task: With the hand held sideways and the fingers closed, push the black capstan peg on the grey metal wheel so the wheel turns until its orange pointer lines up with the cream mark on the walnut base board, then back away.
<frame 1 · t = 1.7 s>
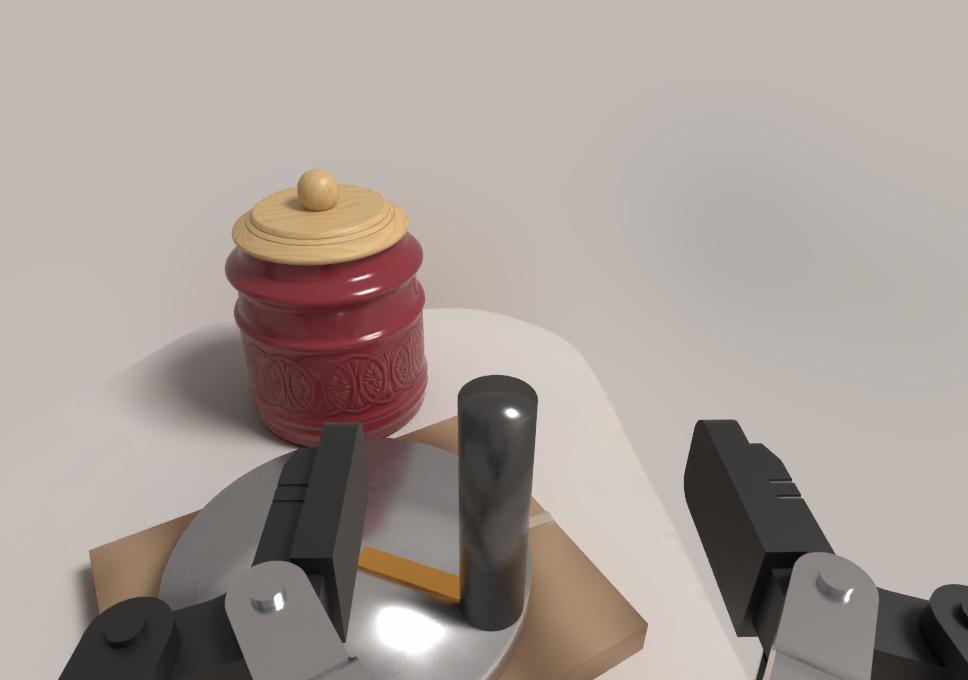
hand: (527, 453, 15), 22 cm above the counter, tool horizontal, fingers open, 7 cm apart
canister: (343, 398, 53), on the counter
base board: (358, 610, 37), on the counter
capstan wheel: (341, 482, 32), point 9 cm above the counter, hinge at -45.0°
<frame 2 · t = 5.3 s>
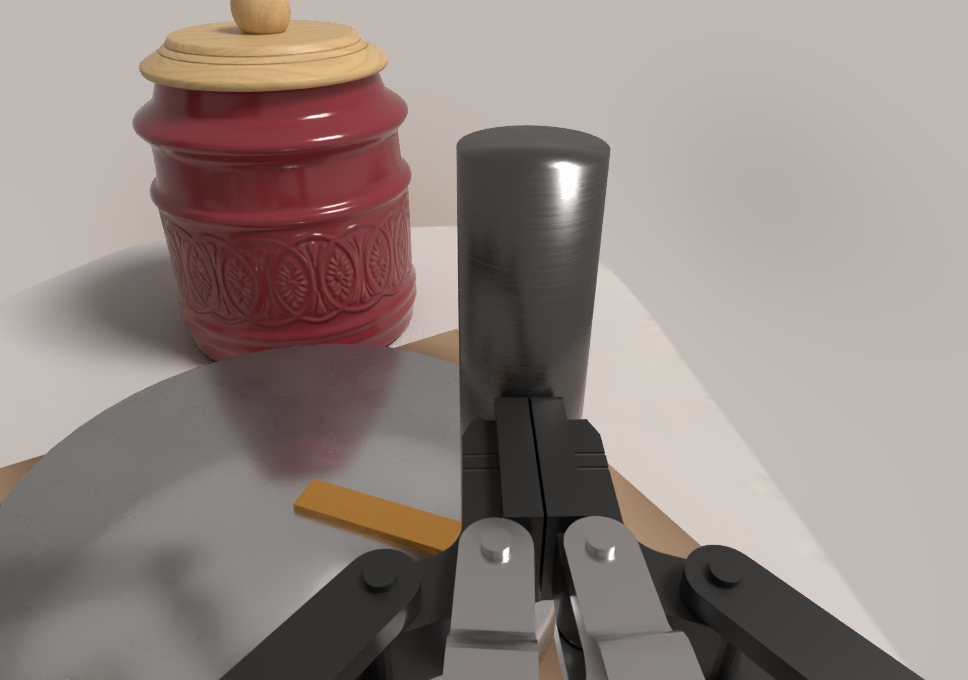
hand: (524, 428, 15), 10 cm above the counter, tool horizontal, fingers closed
canister: (306, 319, 40), on the counter
base board: (308, 583, 24), on the counter
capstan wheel: (266, 364, 19), point 9 cm above the counter, hinge at -45.0°, touching gripper
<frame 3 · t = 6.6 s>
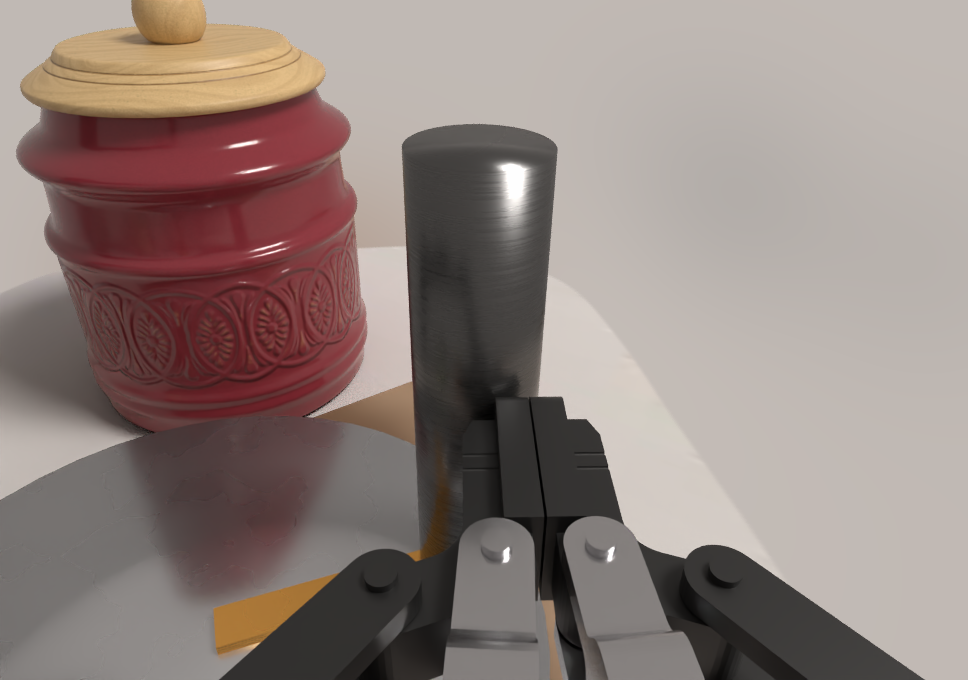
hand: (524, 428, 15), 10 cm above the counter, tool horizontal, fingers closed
canister: (242, 364, 36), on the counter
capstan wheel: (148, 500, 15), point 9 cm above the counter, hinge at -5.9°, touching gripper
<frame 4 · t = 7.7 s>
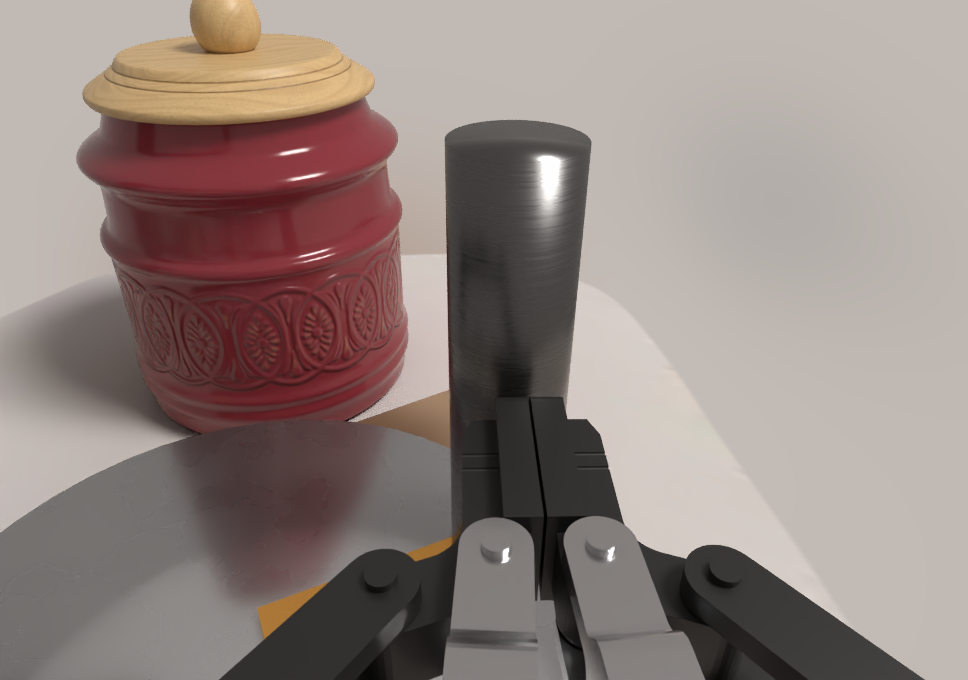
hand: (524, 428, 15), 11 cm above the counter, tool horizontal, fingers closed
canister: (285, 368, 36), on the counter
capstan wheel: (203, 500, 15), point 9 cm above the counter, hinge at 2.1°
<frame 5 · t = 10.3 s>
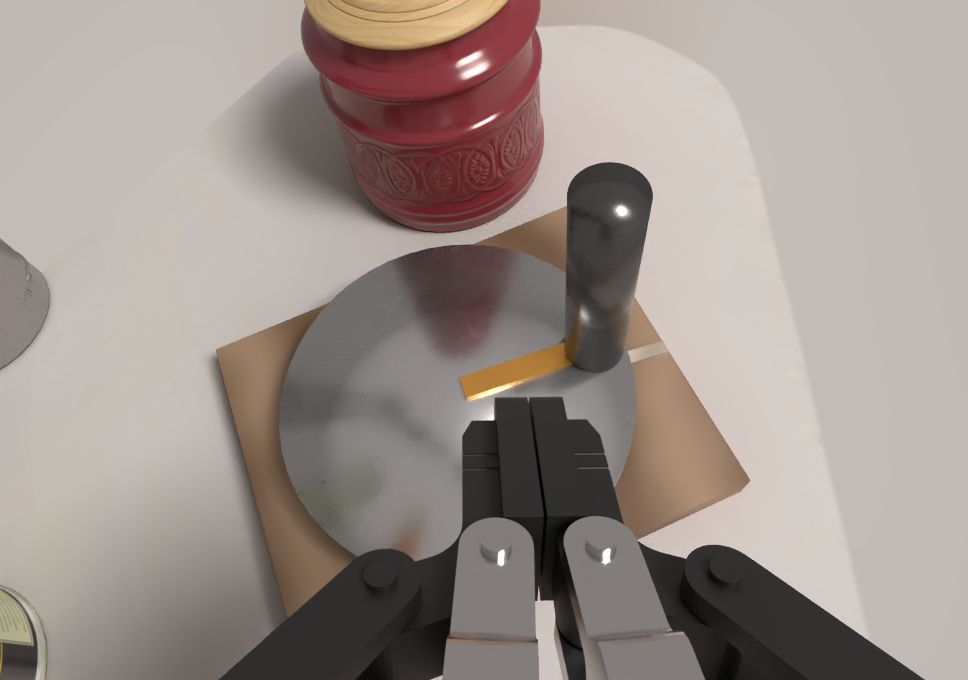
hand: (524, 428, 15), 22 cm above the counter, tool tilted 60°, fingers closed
canister: (450, 161, 48), on the counter
base board: (464, 422, 39), on the counter
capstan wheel: (439, 348, 30), point 9 cm above the counter, hinge at 2.1°
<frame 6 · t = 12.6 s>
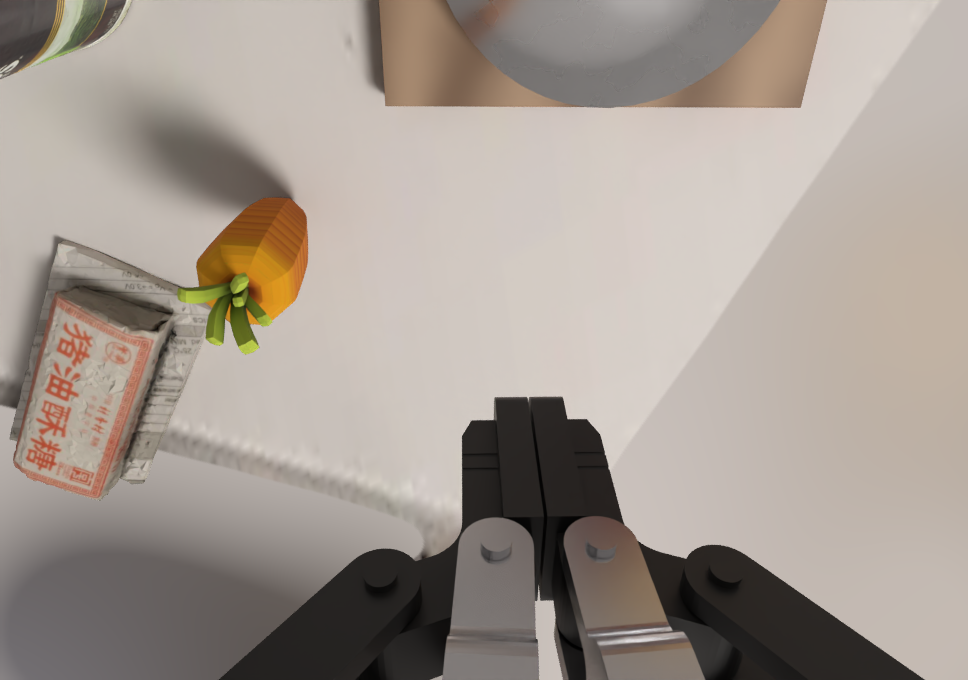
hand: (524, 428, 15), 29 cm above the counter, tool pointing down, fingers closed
packaged product: (114, 365, 49), on the counter
carrot: (290, 204, 43), on the counter
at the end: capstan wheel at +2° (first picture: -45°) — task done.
